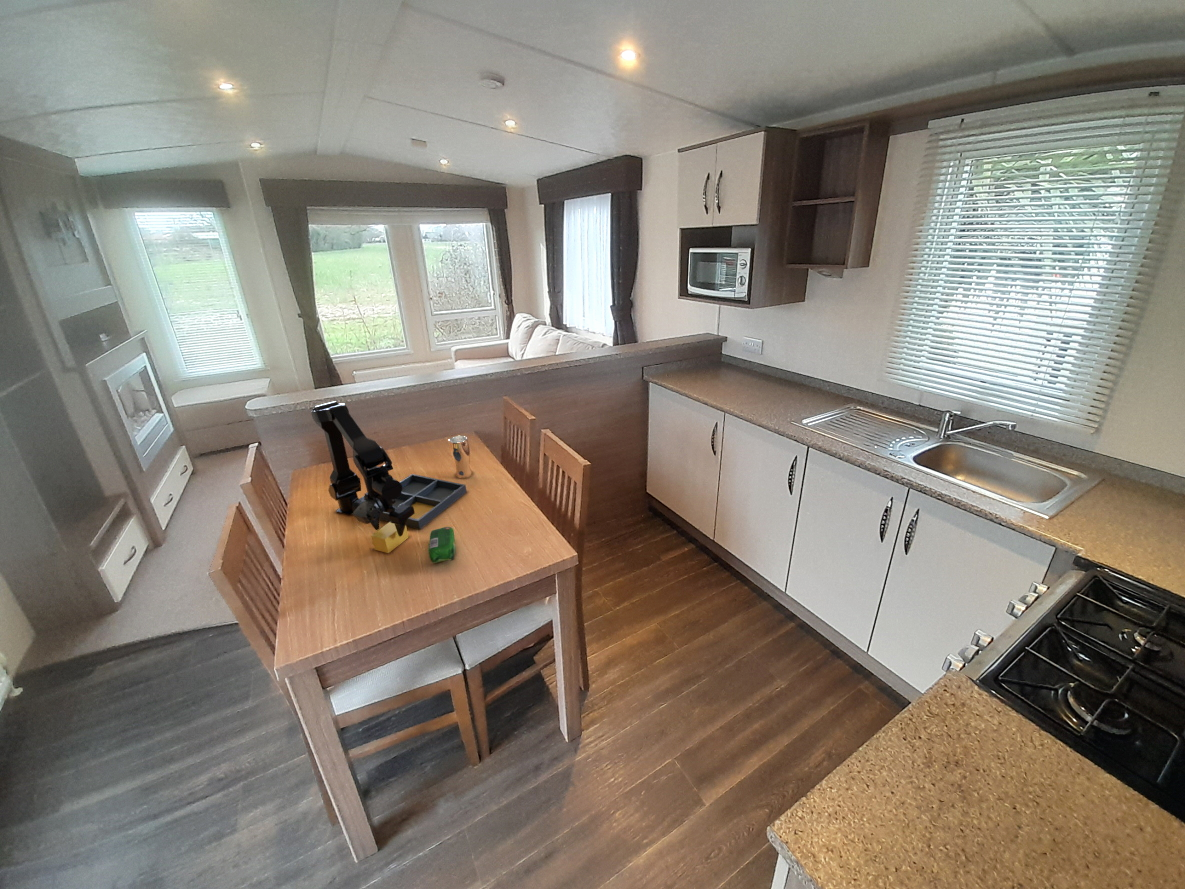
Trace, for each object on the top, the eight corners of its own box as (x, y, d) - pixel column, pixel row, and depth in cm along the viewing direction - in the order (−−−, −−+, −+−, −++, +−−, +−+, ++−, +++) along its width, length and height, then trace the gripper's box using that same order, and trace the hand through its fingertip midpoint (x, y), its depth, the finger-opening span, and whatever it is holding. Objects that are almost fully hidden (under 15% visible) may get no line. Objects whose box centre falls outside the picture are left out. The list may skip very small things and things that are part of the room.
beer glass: (477, 472, 184) (471, 437, 178) (463, 480, 179) (457, 444, 172) (464, 468, 187) (458, 433, 181) (450, 476, 182) (444, 440, 176)
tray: (362, 514, 159) (360, 506, 158) (413, 481, 180) (411, 473, 178) (420, 529, 151) (418, 521, 149) (466, 492, 171) (465, 484, 170)
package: (374, 549, 142) (370, 535, 140) (395, 533, 149) (391, 520, 147) (388, 553, 140) (384, 539, 138) (408, 537, 147) (405, 523, 145)
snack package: (430, 571, 132) (426, 556, 130) (432, 539, 146) (429, 524, 143) (456, 567, 133) (453, 552, 131) (455, 535, 147) (453, 521, 145)
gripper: (330, 495, 133) (344, 541, 140) (381, 508, 126) (393, 555, 133) (361, 477, 142) (373, 521, 149) (410, 488, 135) (420, 533, 142)
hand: (389, 532), depth 143 cm, fingers open, 9 cm apart
